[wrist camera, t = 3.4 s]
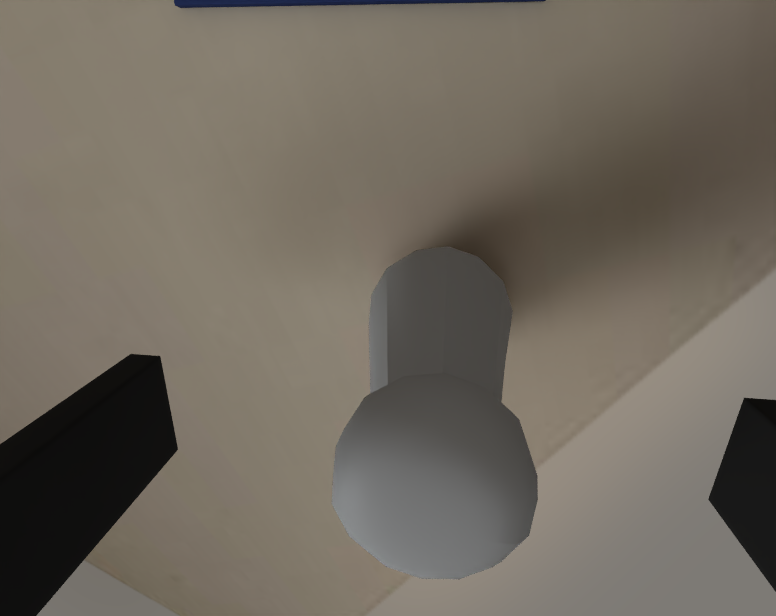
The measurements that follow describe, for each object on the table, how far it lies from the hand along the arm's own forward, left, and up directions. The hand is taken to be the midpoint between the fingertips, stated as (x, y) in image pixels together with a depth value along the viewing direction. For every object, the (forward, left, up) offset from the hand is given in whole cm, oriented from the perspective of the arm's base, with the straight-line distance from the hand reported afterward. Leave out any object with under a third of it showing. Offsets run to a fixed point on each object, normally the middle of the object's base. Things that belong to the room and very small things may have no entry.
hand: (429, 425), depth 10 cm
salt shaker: (0, +1, -11) cm, 11 cm away
